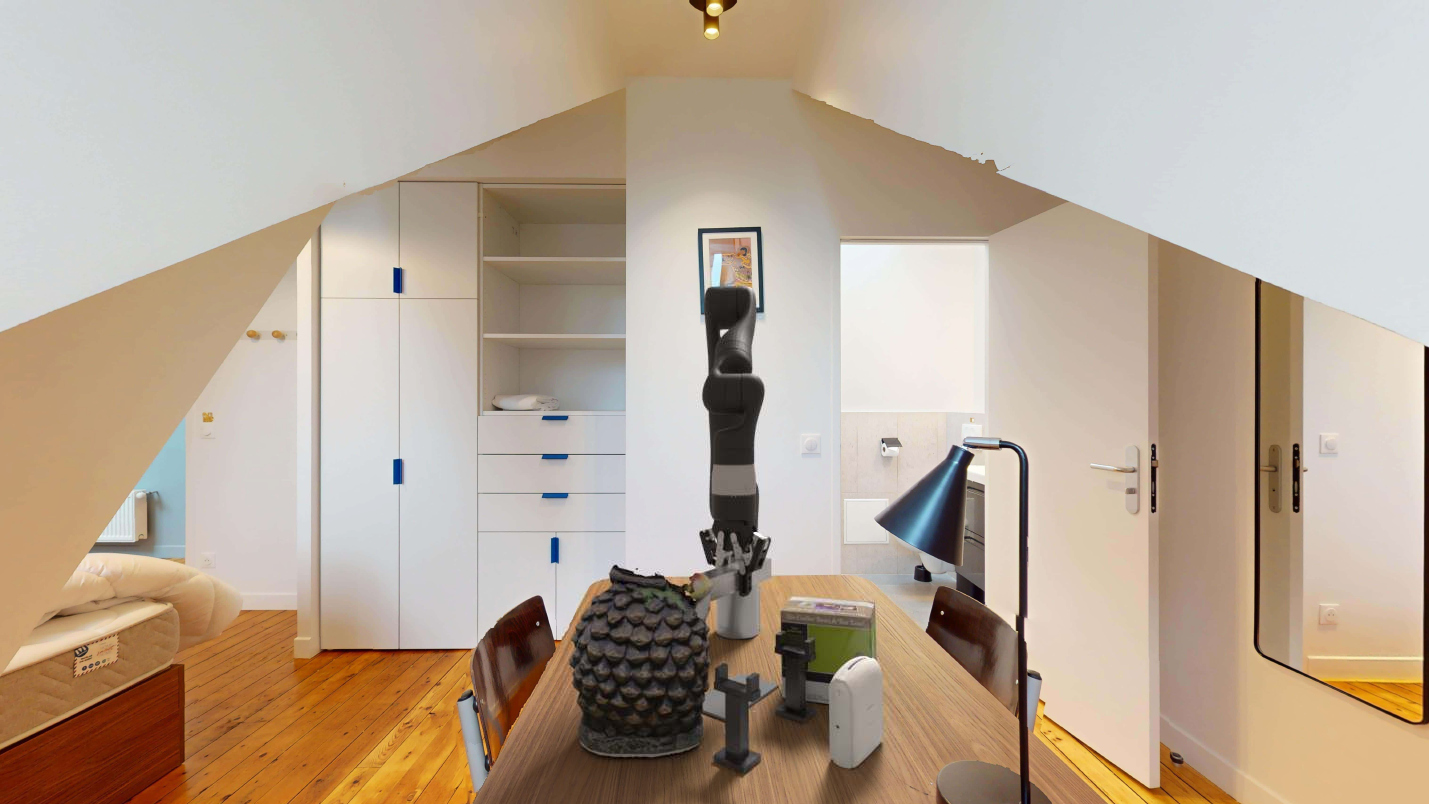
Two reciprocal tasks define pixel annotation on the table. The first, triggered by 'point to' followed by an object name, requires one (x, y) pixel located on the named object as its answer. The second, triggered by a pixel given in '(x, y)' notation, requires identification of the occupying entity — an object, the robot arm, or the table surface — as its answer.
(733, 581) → the rail
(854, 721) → the photo printer
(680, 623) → the scaly pinecone sculpture
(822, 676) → the tea box
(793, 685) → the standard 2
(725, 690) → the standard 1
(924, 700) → the table surface
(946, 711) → the table surface
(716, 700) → the pad
